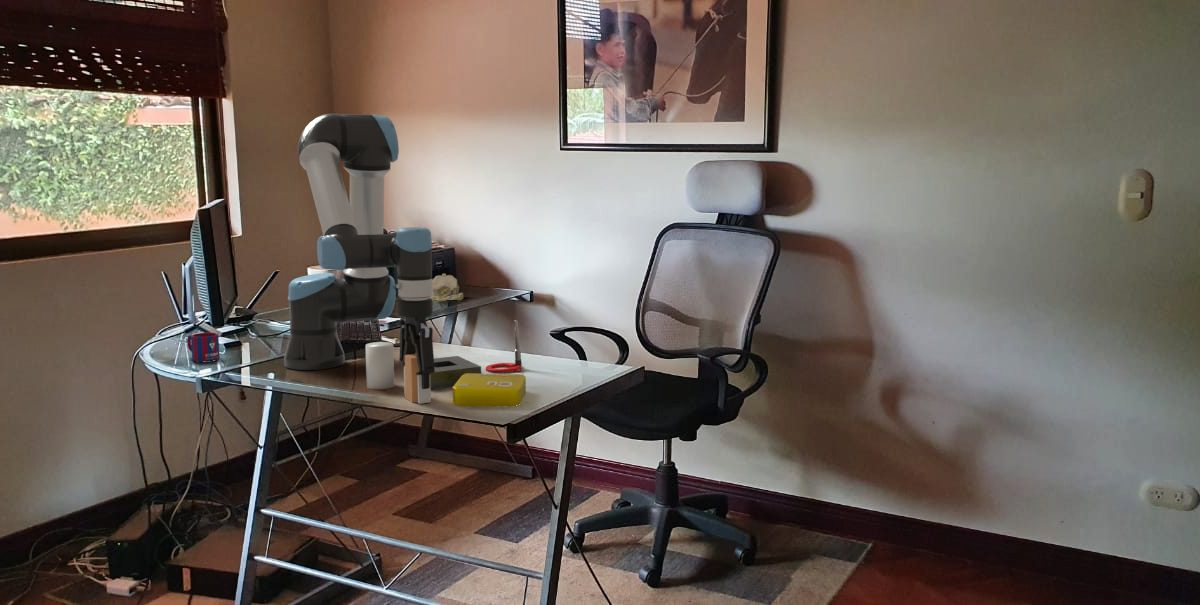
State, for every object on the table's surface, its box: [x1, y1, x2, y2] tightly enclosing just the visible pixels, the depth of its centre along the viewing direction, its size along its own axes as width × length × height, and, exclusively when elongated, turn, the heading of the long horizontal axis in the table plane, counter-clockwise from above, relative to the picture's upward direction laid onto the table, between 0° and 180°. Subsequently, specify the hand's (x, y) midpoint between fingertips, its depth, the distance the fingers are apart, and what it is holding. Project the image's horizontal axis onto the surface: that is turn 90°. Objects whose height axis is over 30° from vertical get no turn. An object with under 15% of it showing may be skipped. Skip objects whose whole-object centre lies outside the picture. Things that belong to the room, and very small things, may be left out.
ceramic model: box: [430, 273, 464, 302], centre depth 354 cm, size 14×11×10 cm
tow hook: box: [485, 319, 523, 374], centre depth 237 cm, size 8×13×9 cm
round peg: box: [365, 341, 395, 390], centre depth 219 cm, size 6×6×10 cm
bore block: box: [430, 355, 482, 390], centre depth 226 cm, size 14×14×4 cm
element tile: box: [452, 372, 527, 408], centre depth 210 cm, size 15×15×5 cm
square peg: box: [404, 354, 419, 403], centre depth 207 cm, size 4×4×10 cm
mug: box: [186, 331, 221, 363], centre depth 246 cm, size 7×10×7 cm
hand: (417, 398), depth 208 cm, fingers open, 8 cm apart
